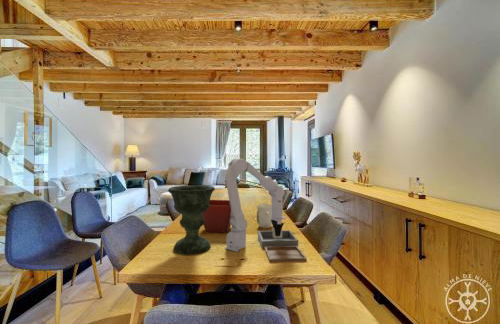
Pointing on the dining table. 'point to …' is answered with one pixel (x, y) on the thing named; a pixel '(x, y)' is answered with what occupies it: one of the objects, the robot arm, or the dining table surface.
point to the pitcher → (264, 215)
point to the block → (274, 233)
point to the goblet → (191, 216)
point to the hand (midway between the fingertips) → (276, 234)
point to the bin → (277, 239)
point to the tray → (284, 254)
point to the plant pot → (217, 216)
